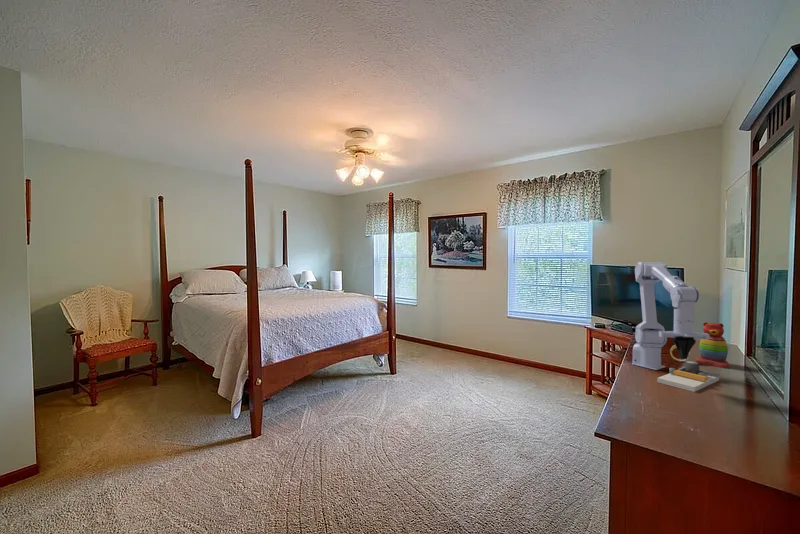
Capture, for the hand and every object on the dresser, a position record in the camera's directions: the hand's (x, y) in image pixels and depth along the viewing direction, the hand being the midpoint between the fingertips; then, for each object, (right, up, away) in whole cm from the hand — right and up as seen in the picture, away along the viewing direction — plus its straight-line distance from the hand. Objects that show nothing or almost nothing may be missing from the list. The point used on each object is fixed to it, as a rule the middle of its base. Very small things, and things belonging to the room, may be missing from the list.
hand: (683, 358), depth 124 cm
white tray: (+6, -10, +5) cm, 12 cm away
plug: (+9, -8, +6) cm, 13 cm away
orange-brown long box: (+5, -8, +4) cm, 10 cm away
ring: (+23, -10, +30) cm, 39 cm away
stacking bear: (+35, -10, +27) cm, 45 cm away
